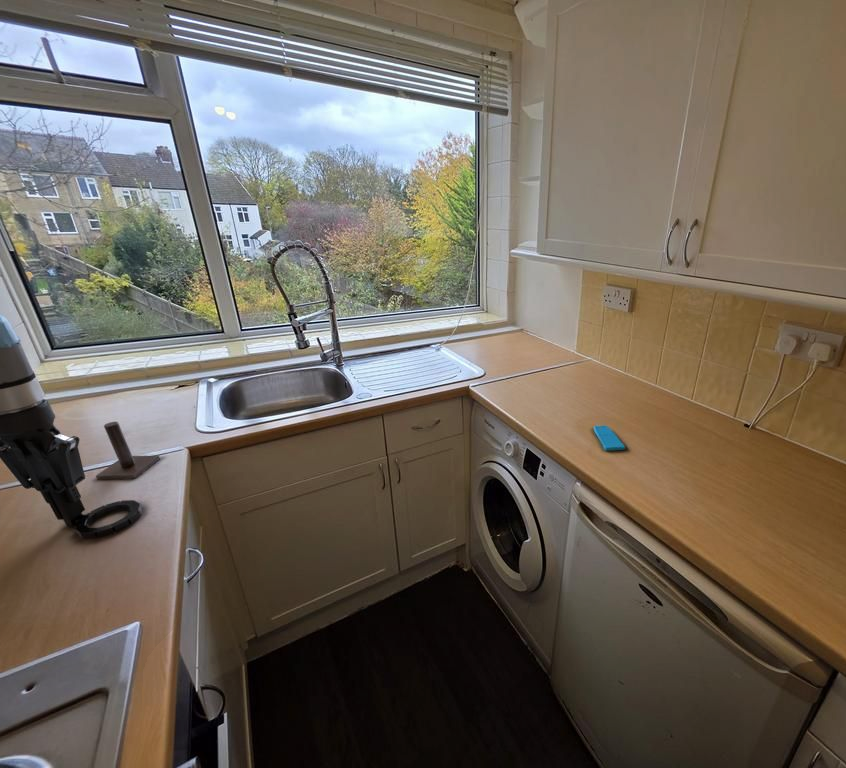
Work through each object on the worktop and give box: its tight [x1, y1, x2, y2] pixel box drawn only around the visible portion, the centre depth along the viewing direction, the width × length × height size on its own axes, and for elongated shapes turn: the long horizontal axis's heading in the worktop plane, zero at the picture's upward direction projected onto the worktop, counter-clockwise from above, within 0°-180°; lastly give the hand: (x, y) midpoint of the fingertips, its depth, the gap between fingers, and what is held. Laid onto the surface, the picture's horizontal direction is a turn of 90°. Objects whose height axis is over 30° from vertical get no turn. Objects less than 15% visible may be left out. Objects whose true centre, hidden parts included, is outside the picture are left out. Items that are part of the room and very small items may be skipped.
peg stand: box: [95, 421, 161, 480], centre depth 93 cm, size 8×8×12 cm
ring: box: [44, 480, 143, 540], centre depth 78 cm, size 12×9×10 cm
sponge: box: [593, 425, 626, 452], centre depth 112 cm, size 2×12×6 cm
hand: (71, 514), depth 78 cm, fingers closed on ring
